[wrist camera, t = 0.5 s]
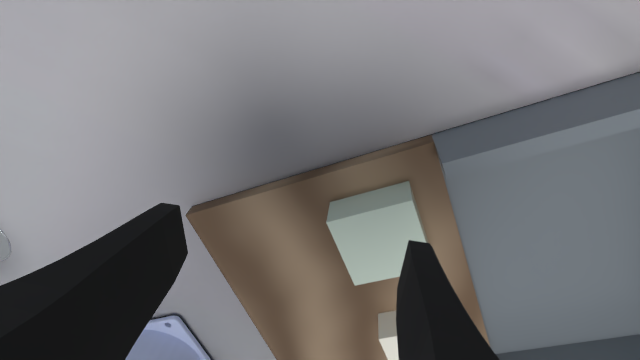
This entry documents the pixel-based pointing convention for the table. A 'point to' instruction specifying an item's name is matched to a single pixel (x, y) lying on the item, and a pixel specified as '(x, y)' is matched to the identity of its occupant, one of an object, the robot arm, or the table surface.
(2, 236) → the goblet set
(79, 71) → the table surface
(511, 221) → the tray
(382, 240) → the sage tile
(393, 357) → the cream tile
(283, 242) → the walnut board
